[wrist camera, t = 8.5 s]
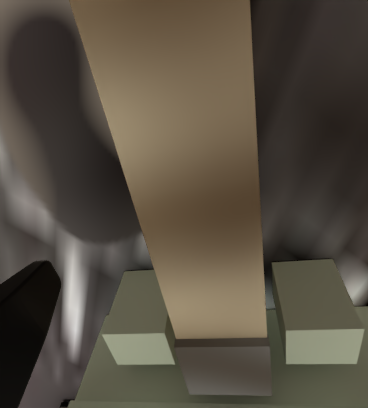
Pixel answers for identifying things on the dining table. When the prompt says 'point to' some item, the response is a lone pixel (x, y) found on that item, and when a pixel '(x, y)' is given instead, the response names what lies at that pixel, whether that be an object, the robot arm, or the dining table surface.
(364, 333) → the grey block
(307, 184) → the dining table surface
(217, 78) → the rail
